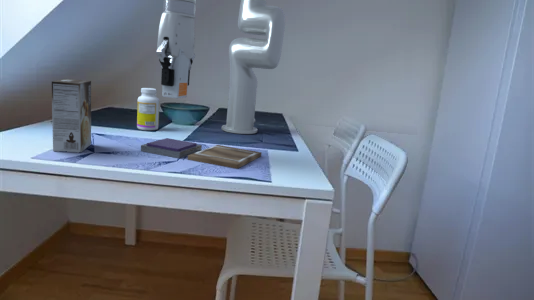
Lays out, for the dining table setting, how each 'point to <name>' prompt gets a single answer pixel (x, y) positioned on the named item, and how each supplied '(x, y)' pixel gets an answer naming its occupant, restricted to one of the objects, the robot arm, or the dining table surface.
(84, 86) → the coffee box
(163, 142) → the ink pad
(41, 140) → the dining table surface
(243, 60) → the robot arm
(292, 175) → the dining table surface
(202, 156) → the wooden tray
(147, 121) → the supplement bottle
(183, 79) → the skincare box
